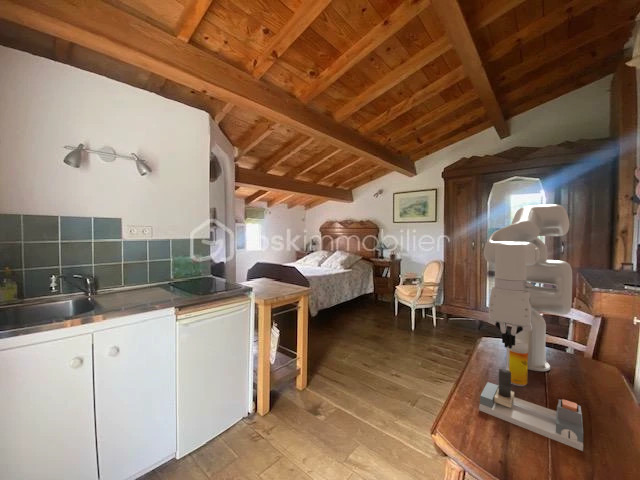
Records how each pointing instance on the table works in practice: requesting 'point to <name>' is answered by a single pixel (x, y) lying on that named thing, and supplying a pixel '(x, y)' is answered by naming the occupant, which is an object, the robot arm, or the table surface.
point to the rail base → (537, 417)
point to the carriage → (504, 389)
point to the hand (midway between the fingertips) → (508, 346)
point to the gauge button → (569, 405)
